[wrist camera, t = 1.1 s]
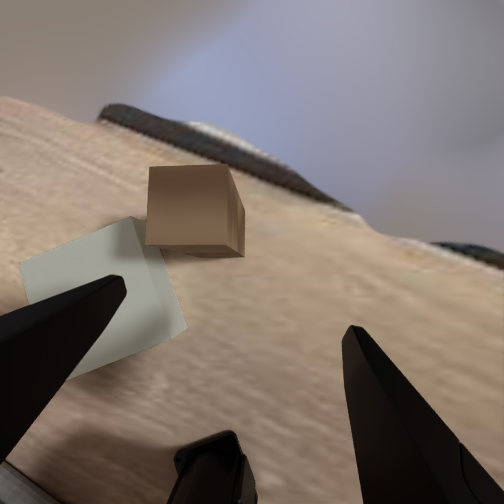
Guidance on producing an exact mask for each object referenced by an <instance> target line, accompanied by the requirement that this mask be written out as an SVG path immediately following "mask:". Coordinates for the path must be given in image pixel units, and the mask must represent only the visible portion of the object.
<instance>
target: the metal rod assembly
mask: <svg viewBox="0 0 504 504" xmlns="http://www.w3.org/2000/svg"><path fill="white" fill-rule="evenodd" d="M0 504H60V503H59V502H57V501H56V500H55V499H53V498H52V497H51V496H49V495H48V494H47V493H45V492H44V491H43V490H41V489H40V488H39V487H38V486H36V485H35V484H34V483H32V482H31V481H30V480H28V479H27V478H26V477H24V476H23V475H22V474H20V473H19V472H18V471H16V470H15V469H14V468H13V467H11V466H10V465H9V464H7V463H6V462H5V461H3V462H2V464H1V465H0Z"/></svg>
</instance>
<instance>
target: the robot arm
mask: <svg viewBox="0 0 504 504" xmlns="http://www.w3.org/2000/svg"><path fill="white" fill-rule="evenodd" d="M126 295H127V289H126V285H125V282H124V278H123V277H122V276H119V275H114V274H111V275H108V276H105V277H102V278H100V279H97V280H94V281H92V282H89V283H86V284H84V285H81V286H78V287H76V288H73V289H71V290H68V291H65V292H63V293H60V294H57V295H55V296H52V297H49V298H47V299H44V300H41V301H39V302H36V303H33V304H31V305H28V306H25V307H23V308H20V309H17V310H15V311H12V312H10V313H7V314H4V315H2V316H0V465H1V464H2V462H3V461H4V460H5V459H6V457H7V456H8V455H9V453H10V452H11V451H12V450H13V448H14V447H15V446H16V444H17V443H18V442H19V440H20V439H21V438H22V437H23V435H24V434H25V433H26V431H27V430H28V429H29V427H30V426H31V425H32V424H33V422H34V421H35V420H36V418H37V417H38V416H39V415H40V413H41V412H42V411H43V409H44V408H45V407H46V405H47V404H48V403H49V402H50V400H51V399H52V398H53V396H54V395H55V394H56V392H57V391H58V390H59V389H60V387H61V386H62V385H63V383H64V382H65V381H66V380H67V378H68V377H69V376H70V374H71V373H72V372H73V370H74V369H75V368H76V367H77V365H78V364H79V363H80V361H81V360H82V359H83V358H84V356H85V355H86V354H87V352H88V351H89V350H90V348H91V347H92V346H93V345H94V343H95V342H96V341H97V339H98V338H99V337H100V335H101V334H102V333H103V331H104V330H105V329H106V327H107V326H108V324H109V322H110V321H111V319H112V318H113V316H114V315H115V313H116V311H117V310H118V308H119V307H120V305H121V303H122V302H123V300H124V299H125V297H126ZM342 359H343V377H344V389H345V396H346V402H347V408H348V414H349V420H350V426H351V432H352V438H353V444H354V450H355V456H356V462H357V468H358V474H359V480H360V486H361V492H362V498H363V504H504V491H503V490H502V488H501V487H500V486H499V485H498V484H497V483H496V482H495V481H494V479H493V478H492V477H491V476H490V475H489V474H488V473H487V471H486V470H485V469H484V468H483V467H482V466H481V465H480V463H479V462H478V461H477V460H476V459H475V458H474V456H473V455H472V454H471V453H470V452H469V451H468V449H467V448H466V447H465V446H464V445H463V444H462V443H460V442H459V439H458V438H457V437H456V436H455V434H454V433H453V432H452V431H451V430H450V429H449V427H448V426H447V425H446V424H445V423H444V422H443V420H442V419H441V418H440V417H439V416H438V415H437V413H436V412H435V411H434V410H433V409H432V407H431V406H430V405H429V404H428V403H427V402H426V400H425V399H424V398H423V397H422V396H421V395H420V393H419V392H418V391H417V390H416V389H415V388H414V386H413V385H412V384H411V383H410V382H409V381H408V379H407V378H406V377H405V376H404V375H403V374H402V372H401V371H400V370H399V369H398V368H397V367H396V365H395V364H394V363H393V362H392V361H391V360H390V358H389V357H388V356H387V355H386V354H385V353H384V351H383V350H382V349H381V348H380V347H379V345H378V344H377V343H376V342H375V341H374V340H373V338H372V337H371V336H370V335H369V334H368V333H367V331H366V330H365V329H364V328H363V327H360V326H355V325H350V326H349V328H348V329H347V331H346V333H345V335H344V337H343V339H342ZM230 437H232V438H233V440H231V439H230ZM178 457H180V458H181V459H179V458H178ZM174 463H175V467H176V470H177V473H178V478H177V481H176V483H175V485H174V487H173V490H172V492H171V494H170V497H169V499H168V501H167V503H166V504H257V501H258V496H257V492H256V489H255V479H254V476H253V473H252V471H251V468H250V465H249V462H248V459H247V456H246V455H245V454H243V452H242V450H241V447H240V444H239V441H238V438H237V435H236V434H235V433H234V432H228V433H225V434H222V435H220V436H217V437H214V438H212V439H209V440H206V441H204V442H201V443H198V444H196V445H193V446H190V447H188V448H185V449H182V450H180V451H178V452H177V453H176V454H175V456H174Z"/></svg>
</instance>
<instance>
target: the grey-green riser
mask: <svg viewBox="0 0 504 504" xmlns="http://www.w3.org/2000/svg"><path fill="white" fill-rule="evenodd" d="M145 240H146V222H144V221H141V220H139V219H136V218H134V217H131V216H130V217H128V218H125V219H123V220H121V221H118V222H116V223H114V224H111V225H109V226H106V227H104V228H102V229H99V230H97V231H94V232H92V233H90V234H87V235H85V236H83V237H80V238H78V239H75V240H73V241H71V242H68V243H66V244H64V245H61V246H59V247H56V248H54V249H52V250H49V251H47V252H44V253H42V254H40V255H37V256H35V257H33V258H30V259H28V260H25V261H23V262H21V263H19V267H20V271H21V274H22V278H23V282H24V286H25V290H26V294H27V298H28V302H29V305H31V304H33V303H36V302H39V301H41V300H44V299H47V298H49V297H52V296H55V295H57V294H60V293H63V292H65V291H68V290H71V289H73V288H76V287H78V286H81V285H84V284H86V283H89V282H92V281H94V280H97V279H100V278H102V277H105V276H108V275H111V274H114V275H119V276H122V277H123V278H124V282H125V285H126V289H127V295H126V297H125V299H124V300H123V302H122V303H121V305H120V307H119V308H118V310H117V311H116V313H115V315H114V316H113V318H112V319H111V321H110V322H109V324H108V326H107V327H106V329H105V330H104V331H103V333H102V334H101V335H100V337H99V338H98V339H97V341H96V342H95V343H94V345H93V346H92V347H91V348H90V350H89V351H88V352H87V354H86V355H85V356H84V358H83V359H82V360H81V361H80V363H79V364H78V365H77V367H76V368H75V369H74V370H73V372H72V373H71V374H70V376H69V377H68V378H67V380H69V379H71V378H74V377H76V376H79V375H82V374H84V373H87V372H89V371H92V370H94V369H97V368H99V367H102V366H104V365H107V364H110V363H112V362H115V361H117V360H120V359H122V358H125V357H127V356H130V355H132V354H135V353H138V352H140V351H143V350H145V349H148V348H150V347H153V346H155V345H158V344H160V343H163V342H166V341H168V340H171V339H173V338H174V337H175V336H177V335H178V334H180V333H181V332H183V331H184V330H186V329H187V326H186V323H185V320H184V317H183V314H182V311H181V308H180V305H179V303H178V300H177V297H176V294H175V291H174V288H173V285H172V282H171V279H170V276H169V274H168V271H167V268H166V265H165V262H164V259H163V256H162V253H161V250H160V248H157V247H152V246H148V245H145Z"/></svg>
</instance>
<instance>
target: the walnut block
mask: <svg viewBox="0 0 504 504" xmlns="http://www.w3.org/2000/svg"><path fill="white" fill-rule="evenodd" d="M145 245H148V246H152V247H157V248H161V249H166V250H170V251H175V252H179V253H184V254H189V255H193V256H198V257H245V209H244V207H243V204H242V202H241V199H240V196H239V194H238V191H237V188H236V186H235V183H234V180H233V178H232V175H231V172H230V170H229V167H228V164H216V165H186V166H156V167H149V185H148V203H147V222H146V240H145Z"/></svg>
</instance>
